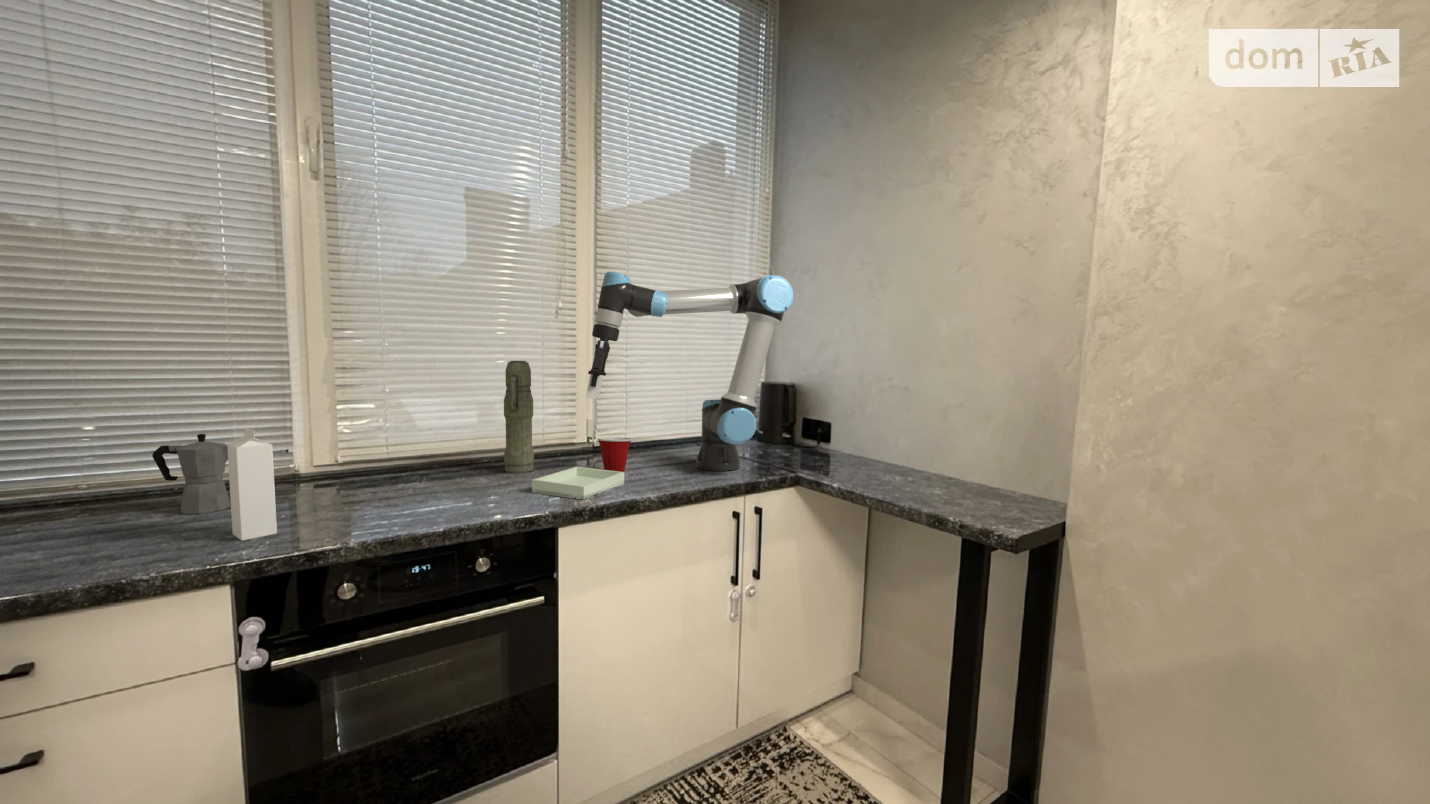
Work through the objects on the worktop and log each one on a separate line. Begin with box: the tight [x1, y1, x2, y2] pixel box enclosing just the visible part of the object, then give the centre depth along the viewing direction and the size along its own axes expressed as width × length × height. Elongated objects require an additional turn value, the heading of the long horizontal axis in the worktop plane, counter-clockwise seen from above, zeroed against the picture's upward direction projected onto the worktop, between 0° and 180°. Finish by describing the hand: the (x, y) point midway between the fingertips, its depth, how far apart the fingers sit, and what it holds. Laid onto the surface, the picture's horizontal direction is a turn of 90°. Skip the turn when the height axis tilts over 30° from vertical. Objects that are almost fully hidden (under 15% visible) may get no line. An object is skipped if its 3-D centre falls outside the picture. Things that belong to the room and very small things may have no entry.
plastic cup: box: [597, 436, 633, 473], centre depth 181 cm, size 11×11×12 cm
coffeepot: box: [152, 433, 231, 516], centre depth 135 cm, size 15×9×18 cm, turn 116°
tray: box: [531, 466, 625, 500], centre depth 164 cm, size 17×20×4 cm
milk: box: [227, 427, 278, 542], centre depth 119 cm, size 6×6×22 cm
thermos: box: [503, 360, 535, 474], centre depth 184 cm, size 9×12×35 cm
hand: (592, 397), depth 169 cm, fingers open, 13 cm apart
